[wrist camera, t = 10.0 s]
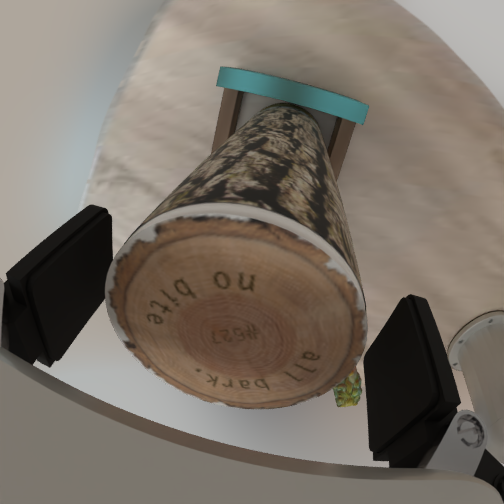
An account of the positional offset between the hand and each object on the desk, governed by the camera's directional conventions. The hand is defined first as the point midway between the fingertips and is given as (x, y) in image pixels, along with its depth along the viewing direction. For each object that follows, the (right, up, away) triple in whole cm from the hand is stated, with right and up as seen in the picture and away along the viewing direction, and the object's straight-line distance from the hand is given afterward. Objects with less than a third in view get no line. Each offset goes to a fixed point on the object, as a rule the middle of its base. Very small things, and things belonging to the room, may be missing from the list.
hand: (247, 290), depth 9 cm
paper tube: (+3, +12, +19) cm, 23 cm away
